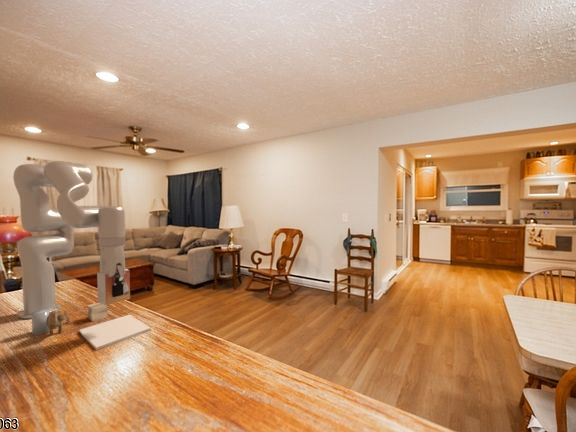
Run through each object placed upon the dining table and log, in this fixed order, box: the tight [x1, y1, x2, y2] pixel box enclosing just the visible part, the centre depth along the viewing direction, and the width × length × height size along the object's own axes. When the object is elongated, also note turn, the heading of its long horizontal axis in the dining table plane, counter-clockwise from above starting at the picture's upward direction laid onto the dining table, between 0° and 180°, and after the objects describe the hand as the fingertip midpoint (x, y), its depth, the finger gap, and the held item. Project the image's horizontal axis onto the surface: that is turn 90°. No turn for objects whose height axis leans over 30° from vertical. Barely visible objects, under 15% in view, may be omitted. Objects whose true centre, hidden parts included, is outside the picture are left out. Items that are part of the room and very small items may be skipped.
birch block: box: [87, 302, 109, 322], centre depth 102 cm, size 5×5×5 cm
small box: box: [96, 268, 131, 306], centre depth 90 cm, size 8×6×10 cm
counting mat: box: [78, 314, 152, 351], centre depth 91 cm, size 18×16×1 cm
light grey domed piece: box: [31, 309, 49, 336], centre depth 90 cm, size 4×4×7 cm
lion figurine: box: [46, 307, 71, 337], centre depth 92 cm, size 15×5×9 cm, turn 35°
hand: (114, 293), depth 90 cm, fingers closed on small box, 6 cm apart
